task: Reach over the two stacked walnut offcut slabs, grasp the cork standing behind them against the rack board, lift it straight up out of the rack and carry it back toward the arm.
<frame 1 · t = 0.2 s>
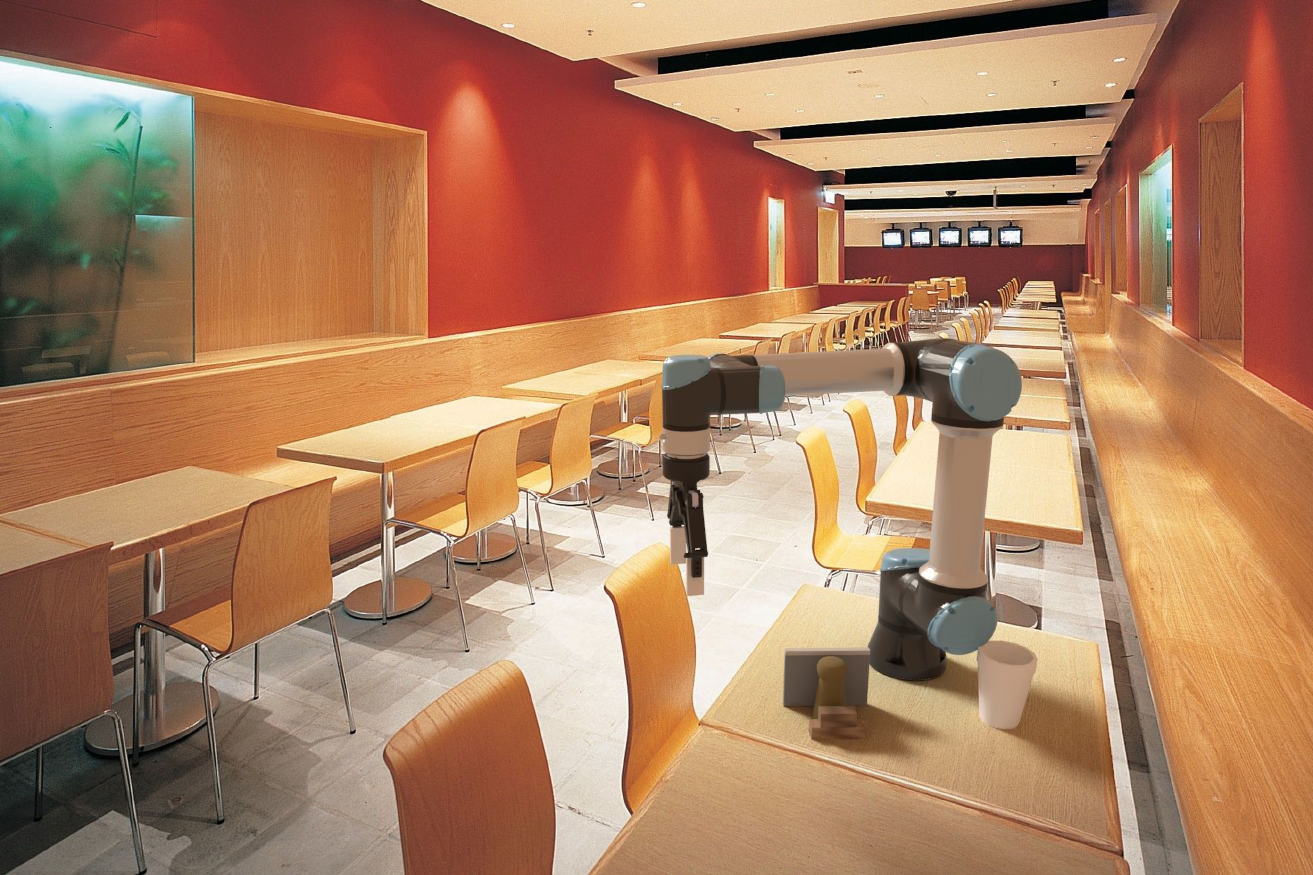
hand: (686, 578, 142), 27 cm above the table, fingers open, 13 cm apart
rack board: (824, 704, 155), on the table
foam cup: (998, 721, 151), on the table, touching arm
offcut low: (836, 736, 146), on the table, touching offcut top
offcut top: (836, 723, 146), point 2 cm above the table, touching offcut low
cork: (829, 718, 151), on the table
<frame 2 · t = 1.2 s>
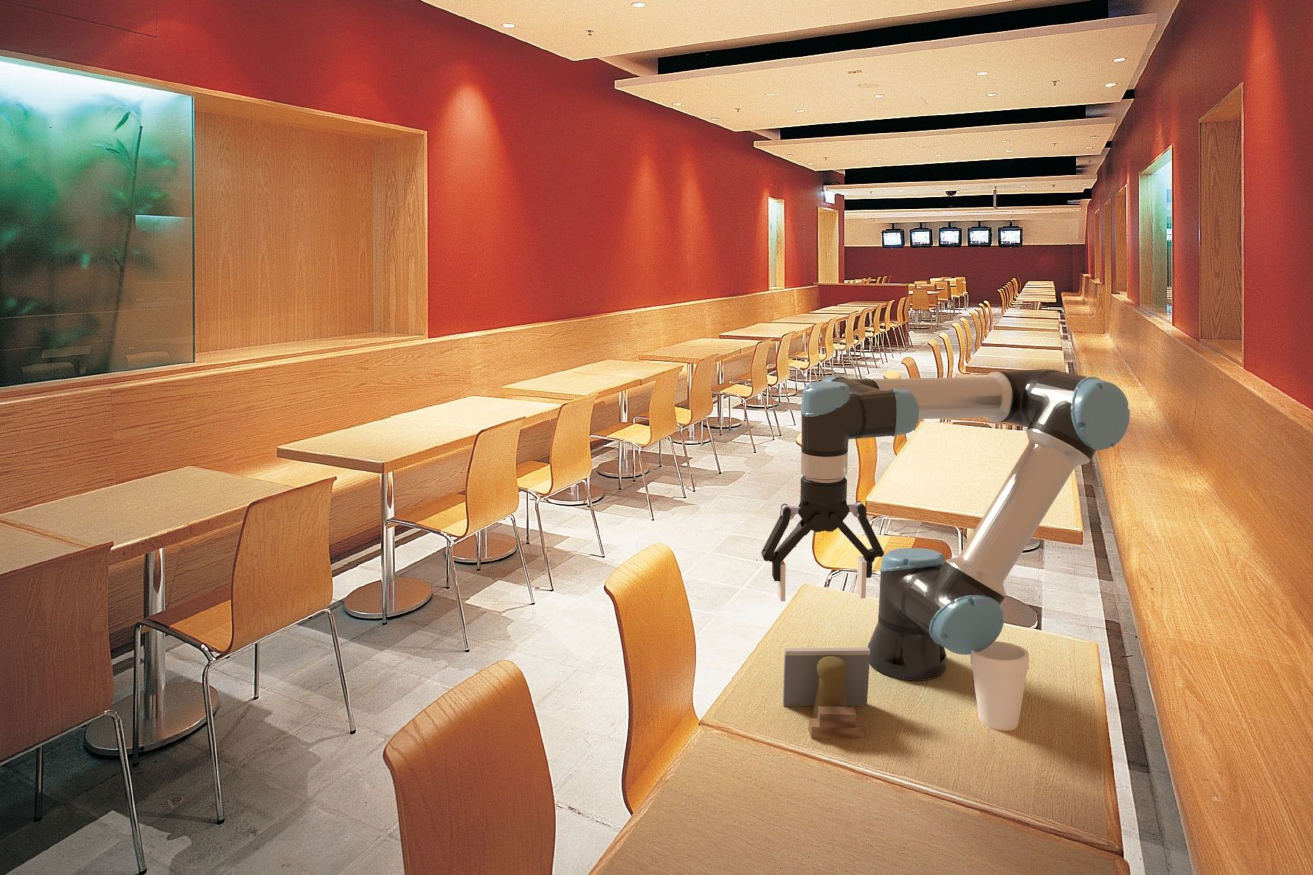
hand: (821, 596, 147), 23 cm above the table, fingers open, 13 cm apart
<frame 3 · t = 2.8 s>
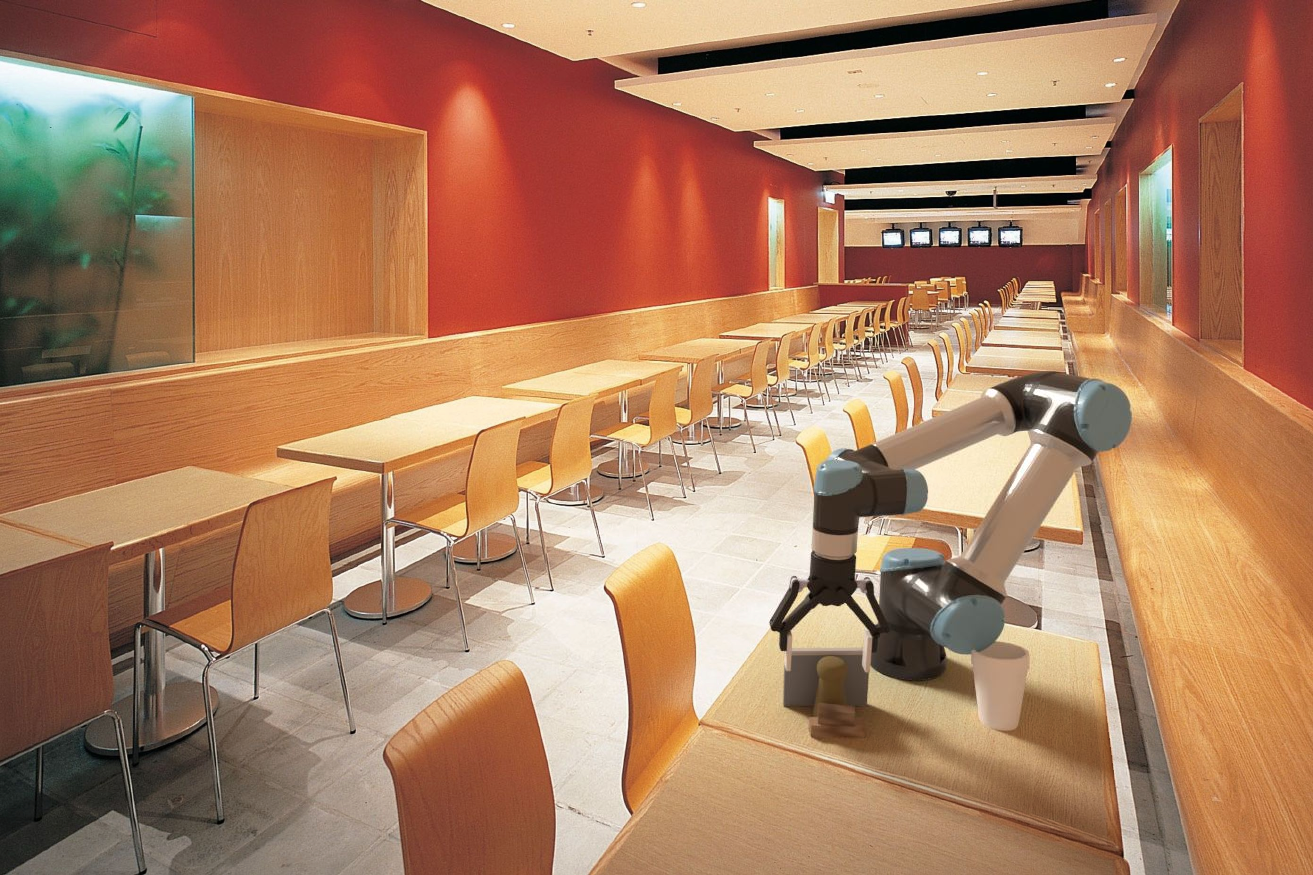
hand: (826, 668, 150), 9 cm above the table, fingers open, 13 cm apart
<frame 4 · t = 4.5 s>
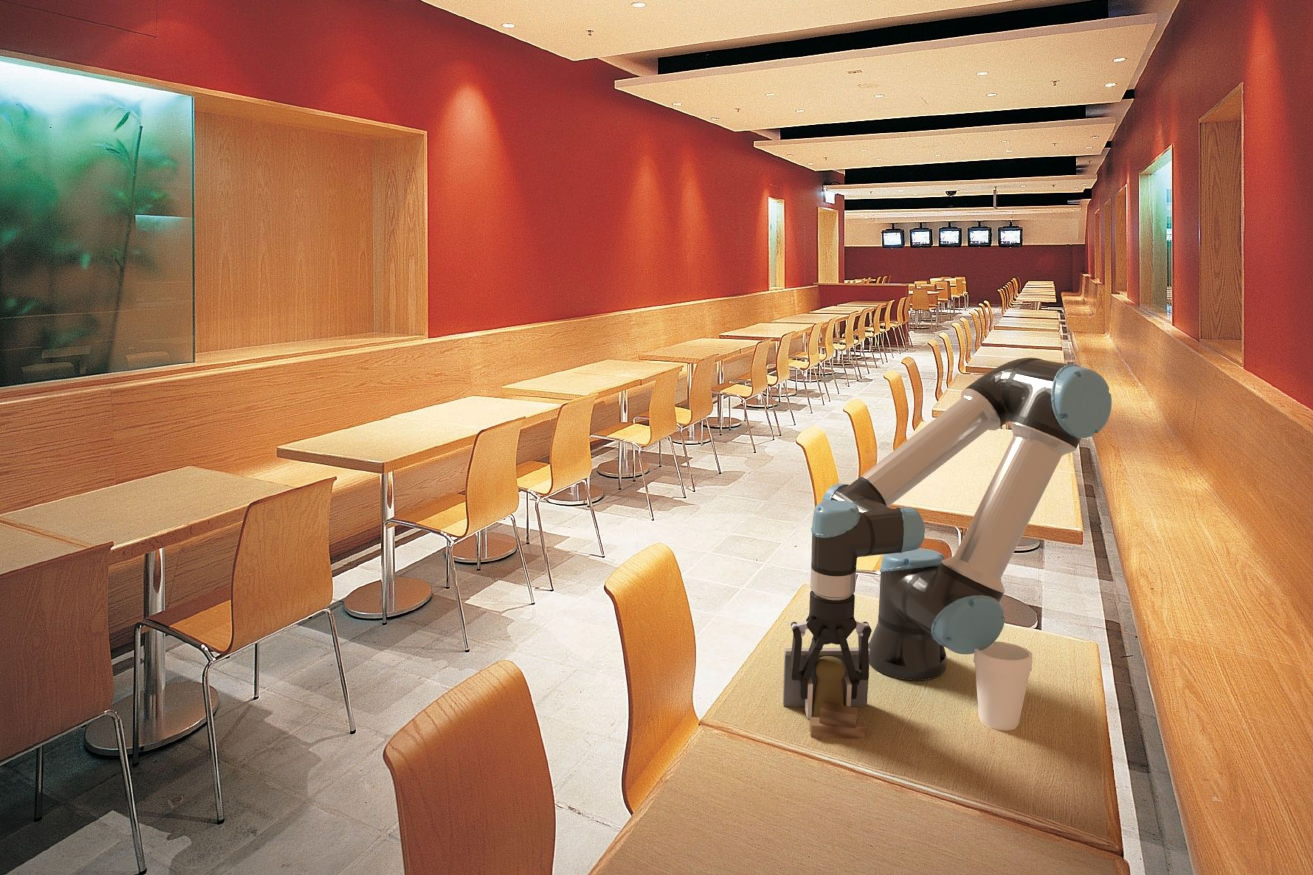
hand: (827, 714, 152), 0 cm above the table, fingers closed on cork, 6 cm apart
cork: (827, 718, 151), on the table, touching gripper
everything else where it was.
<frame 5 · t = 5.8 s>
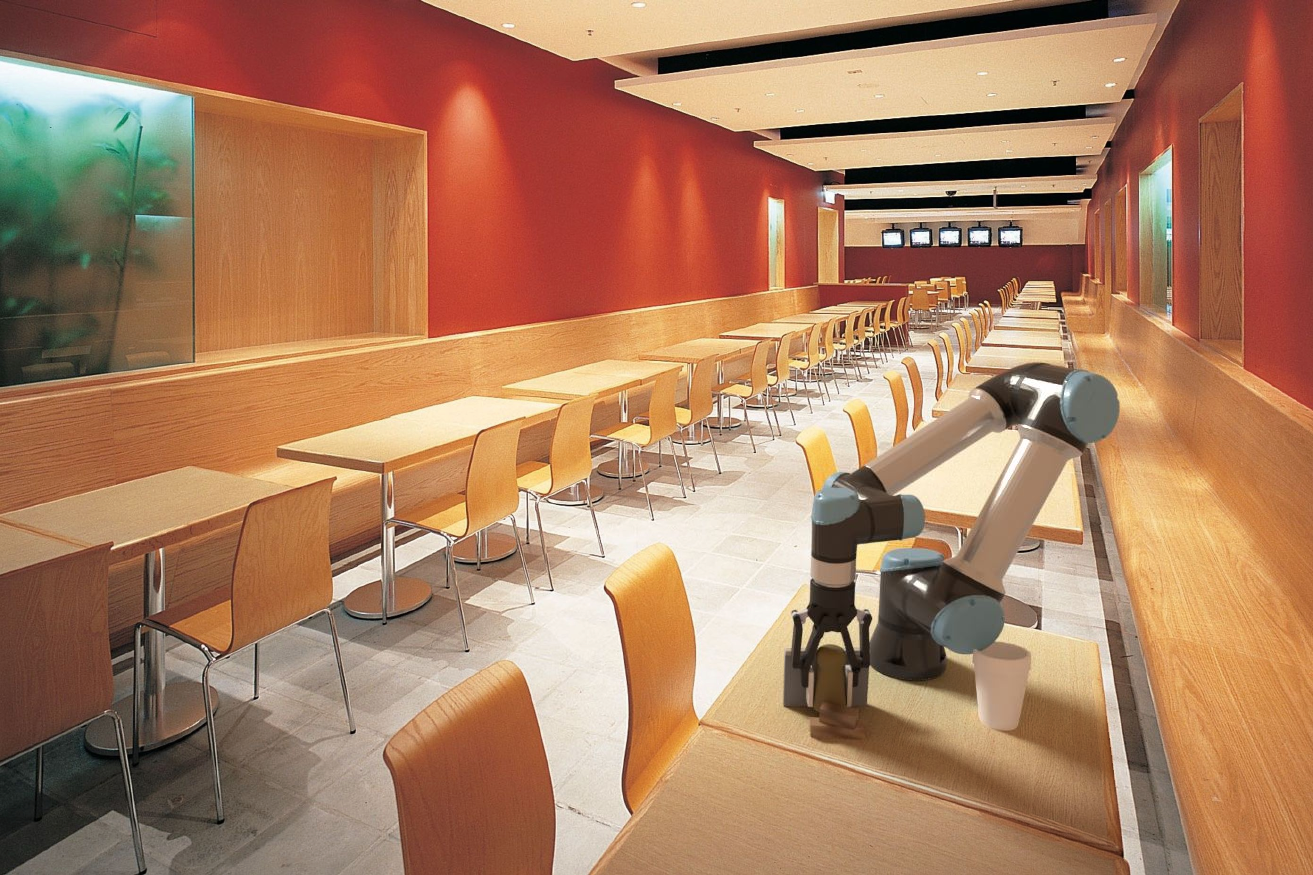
hand: (828, 702, 151), 3 cm above the table, fingers closed on cork, 6 cm apart
offcut low: (836, 735, 146), on the table
offcut top: (838, 722, 146), point 2 cm above the table
cork: (828, 706, 151), point 2 cm above the table, touching gripper
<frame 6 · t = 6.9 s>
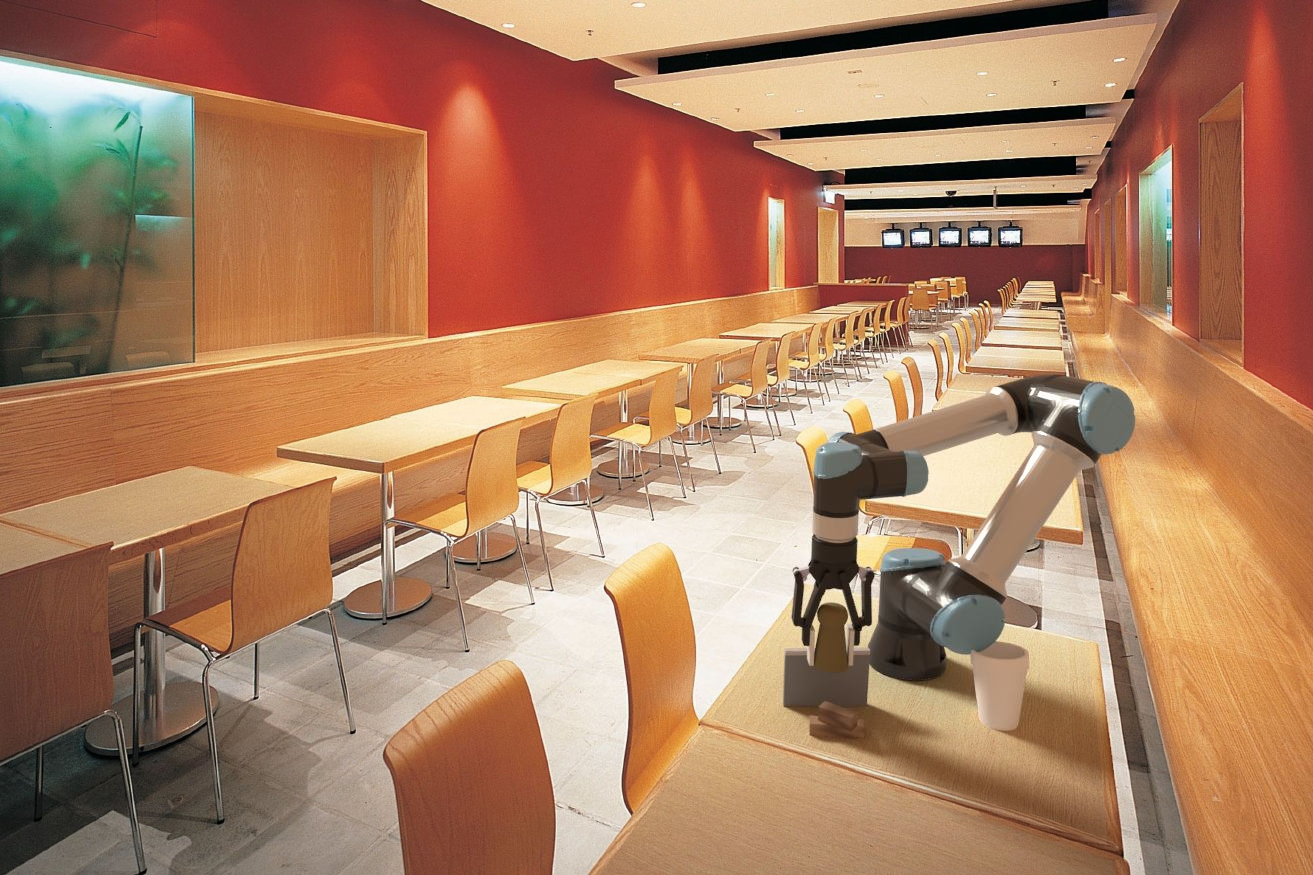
hand: (829, 661, 150), 10 cm above the table, fingers closed on cork, 6 cm apart
offcut low: (836, 734, 147), on the table, touching offcut top
offcut top: (837, 722, 146), point 2 cm above the table, touching offcut low
cork: (830, 665, 149), point 10 cm above the table, touching gripper
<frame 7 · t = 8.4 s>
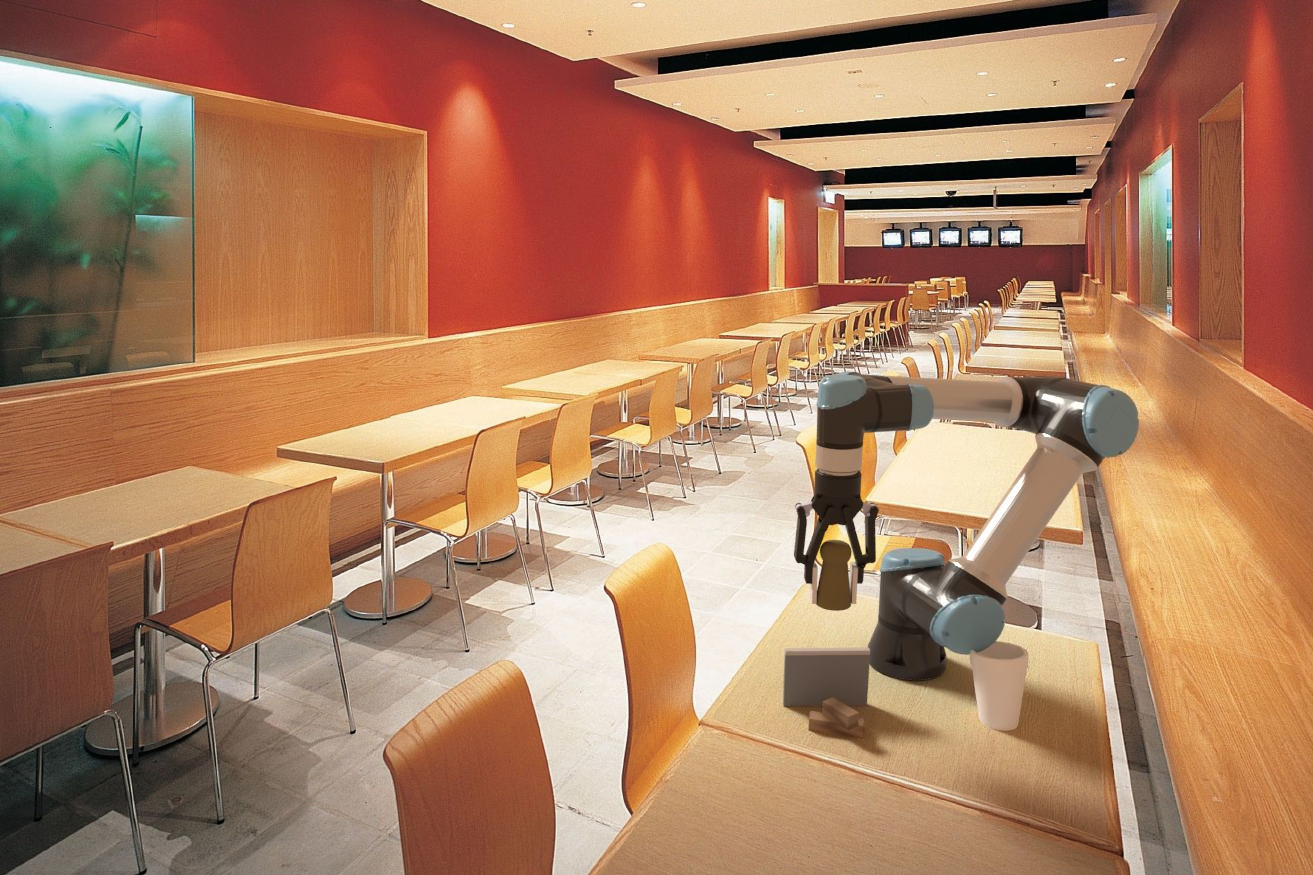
hand: (832, 600, 147), 22 cm above the table, fingers closed on cork, 6 cm apart
offcut low: (835, 731, 148), on the table
offcut top: (839, 719, 147), point 2 cm above the table
cork: (832, 604, 147), point 21 cm above the table, touching gripper
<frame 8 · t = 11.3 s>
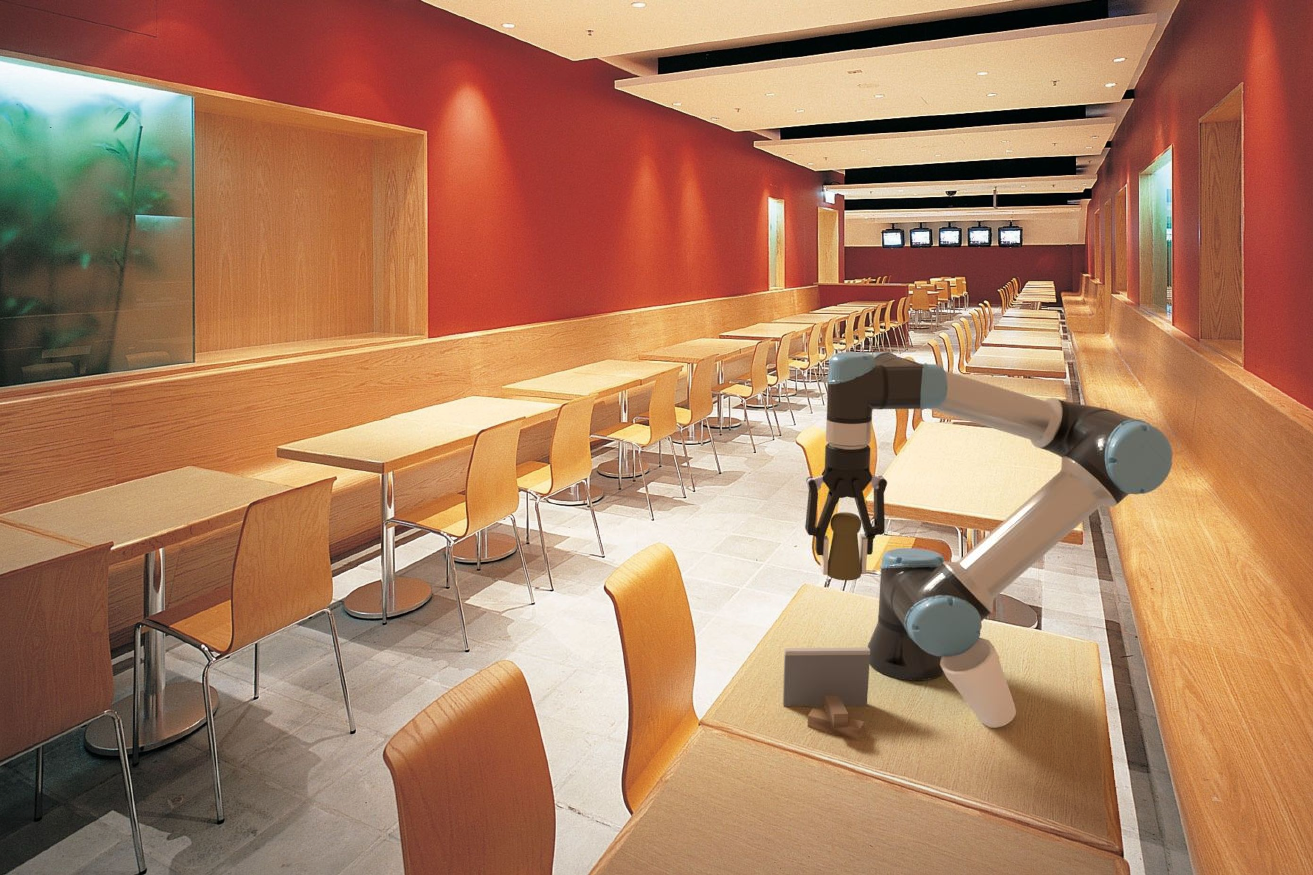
hand: (843, 571, 152), 25 cm above the table, fingers closed on cork, 6 cm apart
foam cup: (998, 715, 150), point 1 cm above the table, touching arm
cork: (843, 574, 152), point 24 cm above the table, touching gripper
at the end: the gripper is holding cork; cork point 24.2 cm above the table; offcut top moved 1.6 cm from its start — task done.
